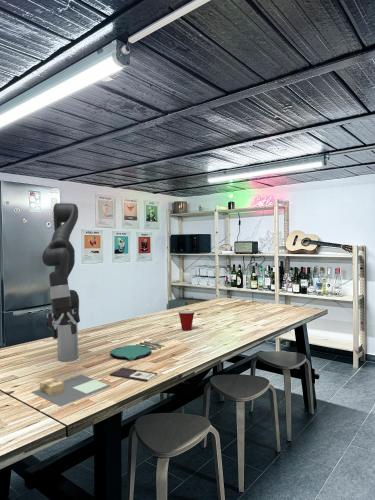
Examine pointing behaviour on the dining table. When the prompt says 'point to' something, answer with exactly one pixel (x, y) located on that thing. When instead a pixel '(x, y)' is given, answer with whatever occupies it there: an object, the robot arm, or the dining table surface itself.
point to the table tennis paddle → (133, 350)
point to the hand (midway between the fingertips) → (65, 336)
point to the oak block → (51, 387)
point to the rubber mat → (74, 390)
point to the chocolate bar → (133, 374)
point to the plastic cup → (186, 319)
